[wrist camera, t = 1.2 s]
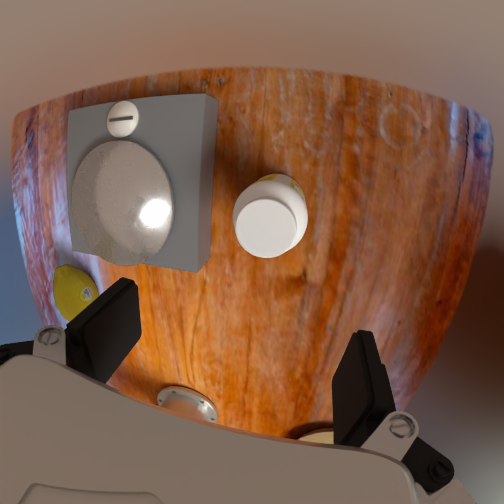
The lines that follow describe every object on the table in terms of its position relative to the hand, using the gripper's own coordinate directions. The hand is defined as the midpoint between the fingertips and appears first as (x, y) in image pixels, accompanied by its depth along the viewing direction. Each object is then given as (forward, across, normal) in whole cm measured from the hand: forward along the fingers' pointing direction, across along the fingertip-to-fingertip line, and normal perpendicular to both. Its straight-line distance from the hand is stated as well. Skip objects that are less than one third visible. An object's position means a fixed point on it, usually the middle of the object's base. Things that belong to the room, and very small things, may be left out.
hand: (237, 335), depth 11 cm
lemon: (+24, +30, +18) cm, 42 cm away
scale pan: (+18, +18, +1) cm, 26 cm away
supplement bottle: (+24, +1, -1) cm, 24 cm away
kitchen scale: (+24, +19, -1) cm, 30 cm away
